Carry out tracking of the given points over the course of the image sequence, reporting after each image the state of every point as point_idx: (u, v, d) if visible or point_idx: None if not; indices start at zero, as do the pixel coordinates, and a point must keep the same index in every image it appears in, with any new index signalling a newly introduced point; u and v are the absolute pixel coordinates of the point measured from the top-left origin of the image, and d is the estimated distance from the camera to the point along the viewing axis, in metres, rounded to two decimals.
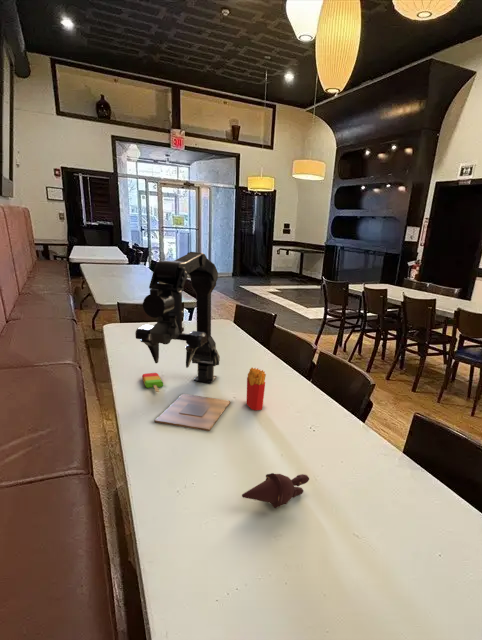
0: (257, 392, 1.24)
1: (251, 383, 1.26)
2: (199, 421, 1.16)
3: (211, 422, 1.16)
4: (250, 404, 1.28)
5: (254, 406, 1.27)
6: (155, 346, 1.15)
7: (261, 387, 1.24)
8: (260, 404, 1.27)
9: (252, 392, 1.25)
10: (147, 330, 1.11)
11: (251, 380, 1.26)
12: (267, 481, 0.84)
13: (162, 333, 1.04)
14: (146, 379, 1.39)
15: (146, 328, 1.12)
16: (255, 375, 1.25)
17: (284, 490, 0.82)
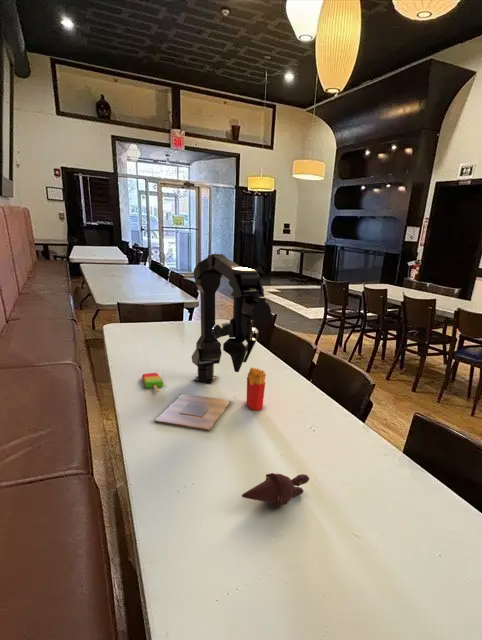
0: (257, 392, 1.24)
1: (251, 383, 1.26)
2: (199, 421, 1.16)
3: (211, 422, 1.16)
4: (250, 404, 1.28)
5: (254, 406, 1.27)
6: None
7: (261, 387, 1.24)
8: (260, 404, 1.27)
9: (252, 392, 1.25)
10: None
11: (251, 380, 1.26)
12: (267, 481, 0.84)
13: (213, 327, 1.19)
14: (146, 379, 1.39)
15: None
16: (255, 375, 1.25)
17: (284, 490, 0.82)
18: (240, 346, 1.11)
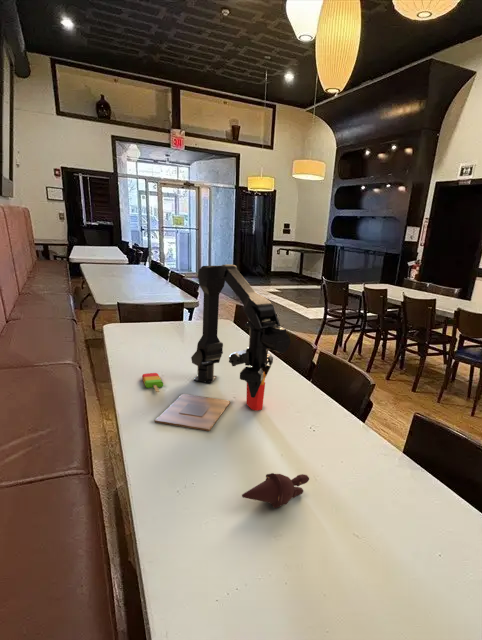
0: (257, 393, 1.24)
1: None
2: (199, 421, 1.16)
3: (211, 422, 1.16)
4: (250, 404, 1.28)
5: (254, 407, 1.27)
6: None
7: (261, 388, 1.23)
8: (260, 404, 1.27)
9: None
10: None
11: None
12: (267, 481, 0.84)
13: (230, 356, 1.24)
14: (146, 379, 1.39)
15: None
16: None
17: (284, 490, 0.82)
18: (256, 375, 1.16)
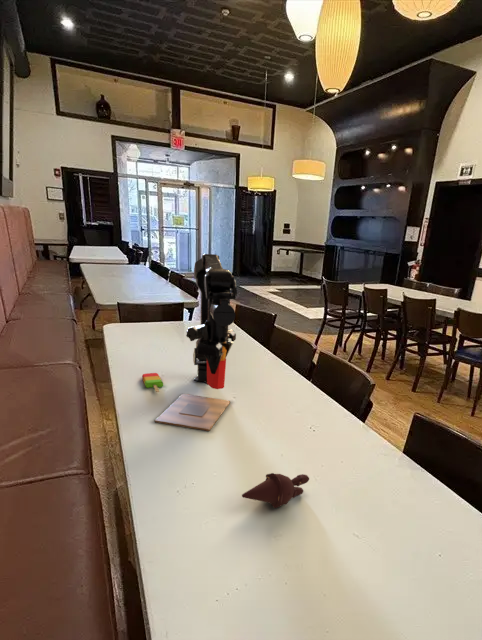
0: (218, 369, 1.17)
1: None
2: (199, 421, 1.16)
3: (211, 422, 1.16)
4: (211, 383, 1.20)
5: (215, 385, 1.19)
6: None
7: (222, 363, 1.16)
8: (221, 382, 1.19)
9: None
10: None
11: None
12: (267, 481, 0.84)
13: (188, 330, 1.16)
14: (146, 379, 1.39)
15: None
16: None
17: (284, 490, 0.82)
18: (213, 349, 1.08)
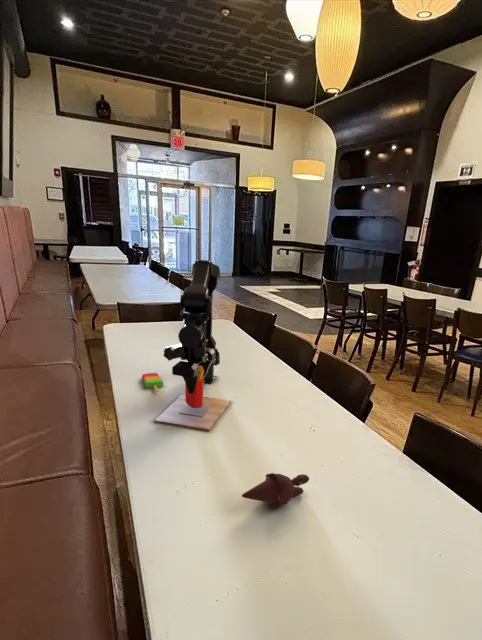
0: (195, 388, 1.17)
1: None
2: (199, 421, 1.16)
3: (211, 422, 1.16)
4: (189, 402, 1.20)
5: (192, 404, 1.19)
6: None
7: (199, 383, 1.16)
8: (199, 401, 1.19)
9: None
10: None
11: None
12: (267, 481, 0.84)
13: None
14: (146, 379, 1.39)
15: None
16: None
17: (284, 490, 0.82)
18: (189, 370, 1.08)
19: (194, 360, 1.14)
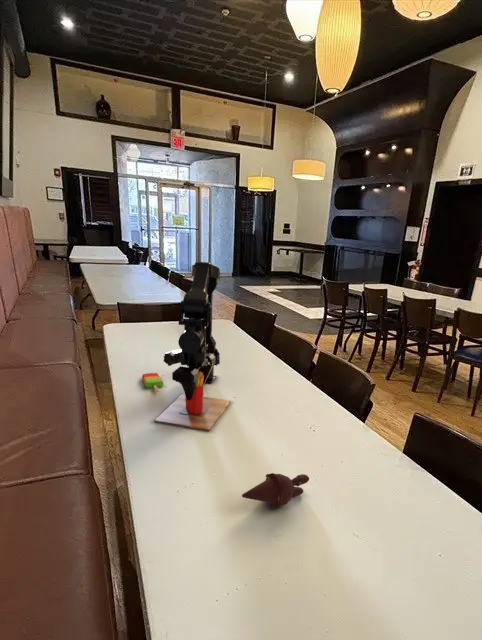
0: (195, 395, 1.17)
1: None
2: (199, 421, 1.16)
3: (211, 422, 1.16)
4: (189, 408, 1.20)
5: (193, 410, 1.20)
6: None
7: (199, 389, 1.17)
8: (199, 407, 1.20)
9: None
10: None
11: None
12: (267, 481, 0.84)
13: None
14: (146, 379, 1.39)
15: None
16: None
17: (284, 490, 0.82)
18: (188, 376, 1.09)
19: (194, 365, 1.15)
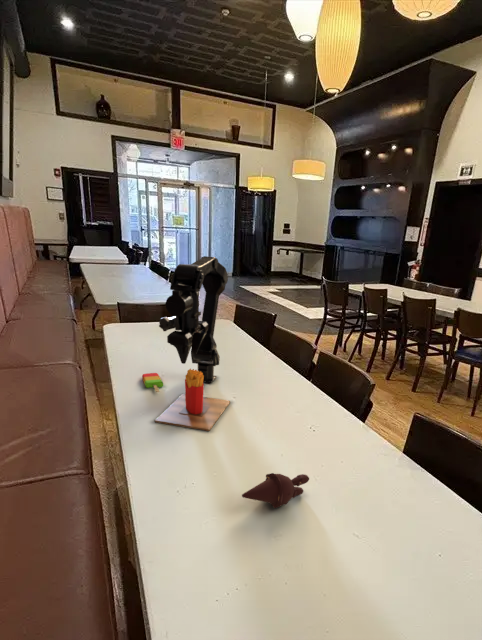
0: (195, 395, 1.17)
1: (189, 385, 1.19)
2: (199, 421, 1.16)
3: (211, 422, 1.16)
4: (189, 408, 1.20)
5: (193, 410, 1.20)
6: (194, 339, 1.31)
7: (199, 389, 1.17)
8: (199, 407, 1.20)
9: (190, 395, 1.18)
10: None
11: (189, 382, 1.18)
12: (267, 481, 0.84)
13: None
14: (146, 379, 1.39)
15: None
16: (192, 377, 1.18)
17: (284, 490, 0.82)
18: (183, 338, 1.16)
19: (188, 330, 1.22)
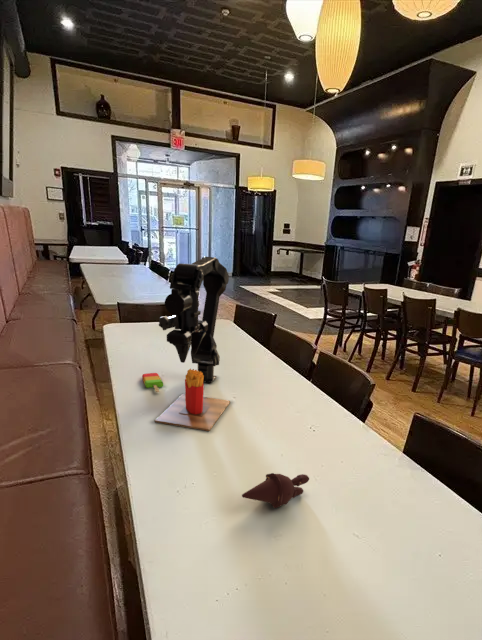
0: (195, 395, 1.17)
1: (189, 385, 1.19)
2: (199, 421, 1.16)
3: (211, 422, 1.16)
4: (189, 408, 1.20)
5: (193, 410, 1.20)
6: (194, 339, 1.31)
7: (199, 389, 1.17)
8: (199, 407, 1.20)
9: (190, 395, 1.18)
10: None
11: (189, 382, 1.18)
12: (267, 481, 0.84)
13: None
14: (146, 379, 1.39)
15: None
16: (192, 377, 1.18)
17: (284, 490, 0.82)
18: (182, 337, 1.16)
19: (187, 329, 1.22)
